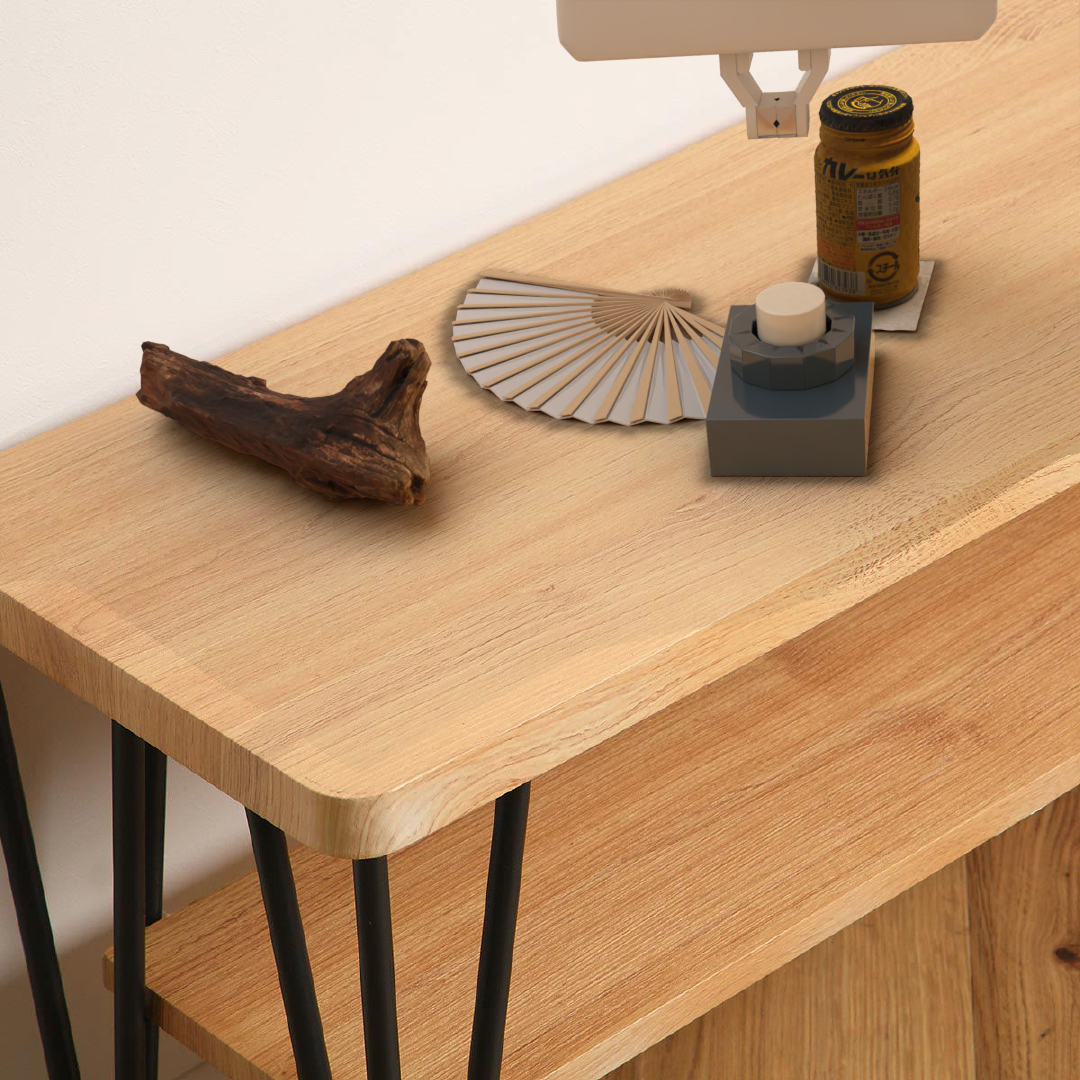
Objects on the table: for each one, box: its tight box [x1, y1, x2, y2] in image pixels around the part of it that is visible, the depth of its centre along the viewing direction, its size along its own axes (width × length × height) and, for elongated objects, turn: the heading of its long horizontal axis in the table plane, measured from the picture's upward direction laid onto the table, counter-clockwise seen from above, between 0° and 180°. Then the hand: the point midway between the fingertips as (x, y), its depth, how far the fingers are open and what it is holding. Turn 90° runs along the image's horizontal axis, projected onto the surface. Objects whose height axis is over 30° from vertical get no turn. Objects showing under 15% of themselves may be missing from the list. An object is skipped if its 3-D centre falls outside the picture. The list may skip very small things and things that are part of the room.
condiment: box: [807, 84, 935, 332], centre depth 95 cm, size 7×8×12 cm
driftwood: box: [135, 337, 433, 508], centre depth 89 cm, size 23×8×8 cm, turn 57°
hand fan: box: [451, 268, 726, 427], centre depth 97 cm, size 26×1×15 cm
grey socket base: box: [705, 299, 876, 477], centre depth 87 cm, size 8×12×6 cm, turn 168°
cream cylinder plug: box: [754, 281, 826, 346], centre depth 85 cm, size 4×4×2 cm
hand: (778, 133), depth 79 cm, fingers closed
